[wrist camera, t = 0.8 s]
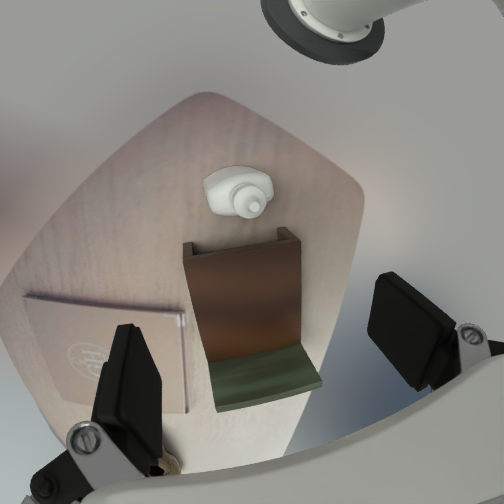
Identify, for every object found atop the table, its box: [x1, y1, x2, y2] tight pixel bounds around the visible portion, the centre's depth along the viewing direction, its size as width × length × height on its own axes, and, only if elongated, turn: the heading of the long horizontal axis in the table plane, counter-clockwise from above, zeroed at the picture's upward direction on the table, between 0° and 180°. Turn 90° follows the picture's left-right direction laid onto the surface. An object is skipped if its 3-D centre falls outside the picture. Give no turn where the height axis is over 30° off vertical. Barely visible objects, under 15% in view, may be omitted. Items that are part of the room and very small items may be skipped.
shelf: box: [183, 227, 322, 413], centre depth 29 cm, size 15×12×12 cm
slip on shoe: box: [148, 443, 181, 477], centre depth 41 cm, size 30×11×9 cm, turn 174°
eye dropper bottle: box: [203, 166, 274, 219], centre depth 24 cm, size 4×6×12 cm
